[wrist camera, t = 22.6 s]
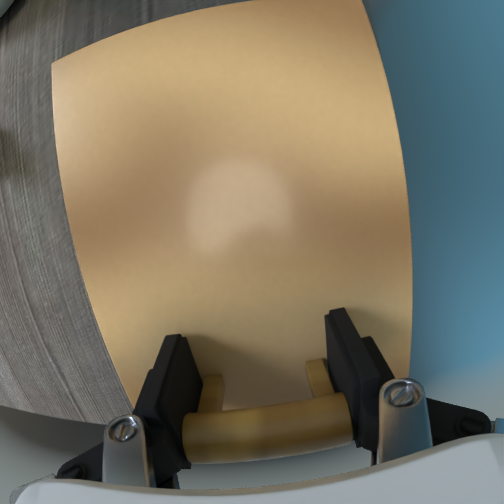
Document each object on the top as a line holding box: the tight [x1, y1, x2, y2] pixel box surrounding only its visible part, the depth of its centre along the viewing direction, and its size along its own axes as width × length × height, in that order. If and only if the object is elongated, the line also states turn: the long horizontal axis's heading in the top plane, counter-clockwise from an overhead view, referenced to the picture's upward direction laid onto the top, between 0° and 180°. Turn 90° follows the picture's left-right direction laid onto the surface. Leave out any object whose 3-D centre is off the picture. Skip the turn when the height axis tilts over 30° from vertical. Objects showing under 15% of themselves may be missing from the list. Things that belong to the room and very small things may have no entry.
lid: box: [52, 0, 413, 464], centre depth 9 cm, size 16×13×5 cm
